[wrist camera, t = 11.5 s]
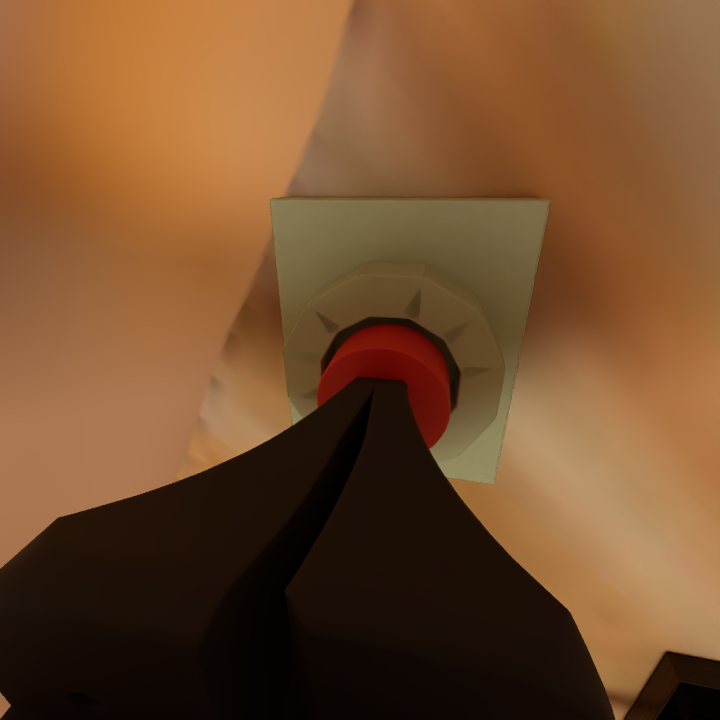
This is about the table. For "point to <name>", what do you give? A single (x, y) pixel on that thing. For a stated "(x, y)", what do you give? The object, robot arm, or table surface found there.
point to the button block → (414, 298)
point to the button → (395, 372)
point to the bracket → (680, 691)
